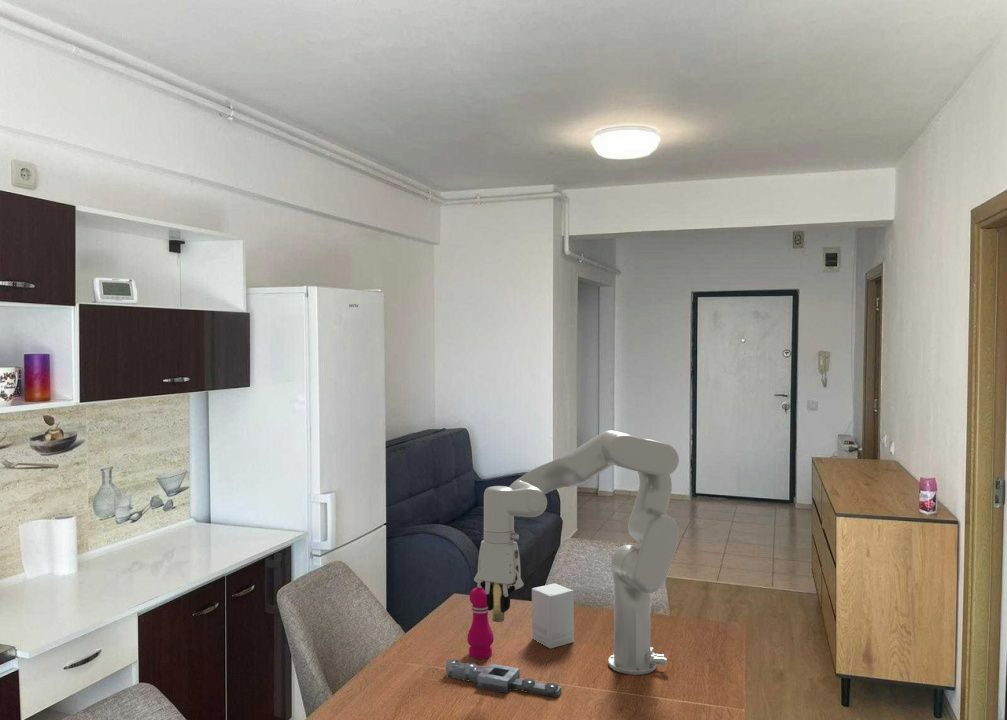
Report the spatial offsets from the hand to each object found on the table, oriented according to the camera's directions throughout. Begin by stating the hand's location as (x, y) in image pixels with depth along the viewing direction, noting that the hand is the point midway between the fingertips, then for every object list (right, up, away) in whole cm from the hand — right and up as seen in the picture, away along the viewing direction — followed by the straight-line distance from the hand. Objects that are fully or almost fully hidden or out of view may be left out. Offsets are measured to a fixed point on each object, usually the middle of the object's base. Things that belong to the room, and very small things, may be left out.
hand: (498, 609), depth 193 cm
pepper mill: (-5, -19, +19) cm, 27 cm away
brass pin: (0, -3, 0) cm, 3 cm away
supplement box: (+15, -19, +29) cm, 37 cm away
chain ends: (0, -19, 0) cm, 19 cm away
